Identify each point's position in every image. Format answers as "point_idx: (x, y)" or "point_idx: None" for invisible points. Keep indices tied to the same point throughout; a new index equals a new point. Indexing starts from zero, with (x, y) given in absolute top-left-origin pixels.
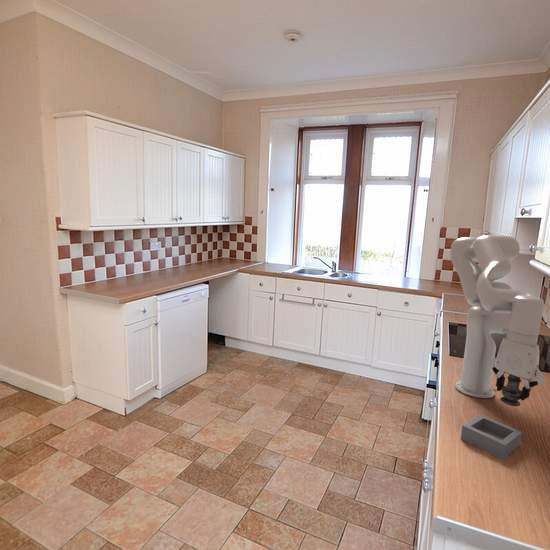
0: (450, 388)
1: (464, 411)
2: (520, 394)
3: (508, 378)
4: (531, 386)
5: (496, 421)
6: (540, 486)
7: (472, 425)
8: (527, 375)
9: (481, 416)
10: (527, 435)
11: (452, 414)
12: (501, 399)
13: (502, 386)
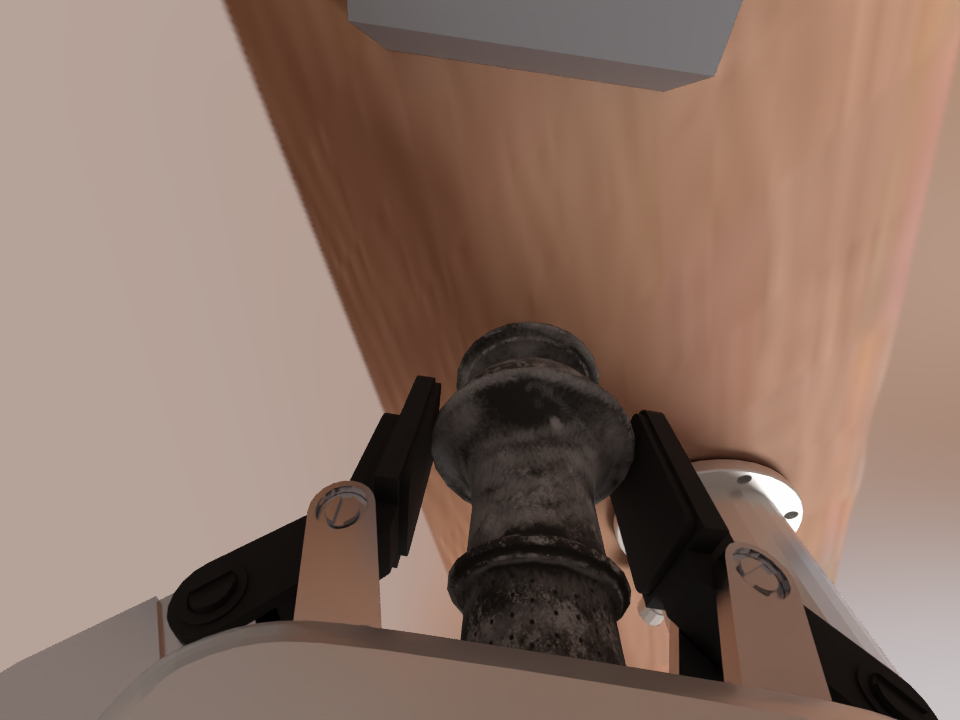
0: (820, 471)
1: (758, 261)
2: (447, 429)
3: (613, 571)
4: (295, 530)
5: (566, 42)
6: None
7: None
8: None
9: (706, 23)
10: (403, 252)
11: (858, 134)
12: (588, 367)
13: (623, 482)
